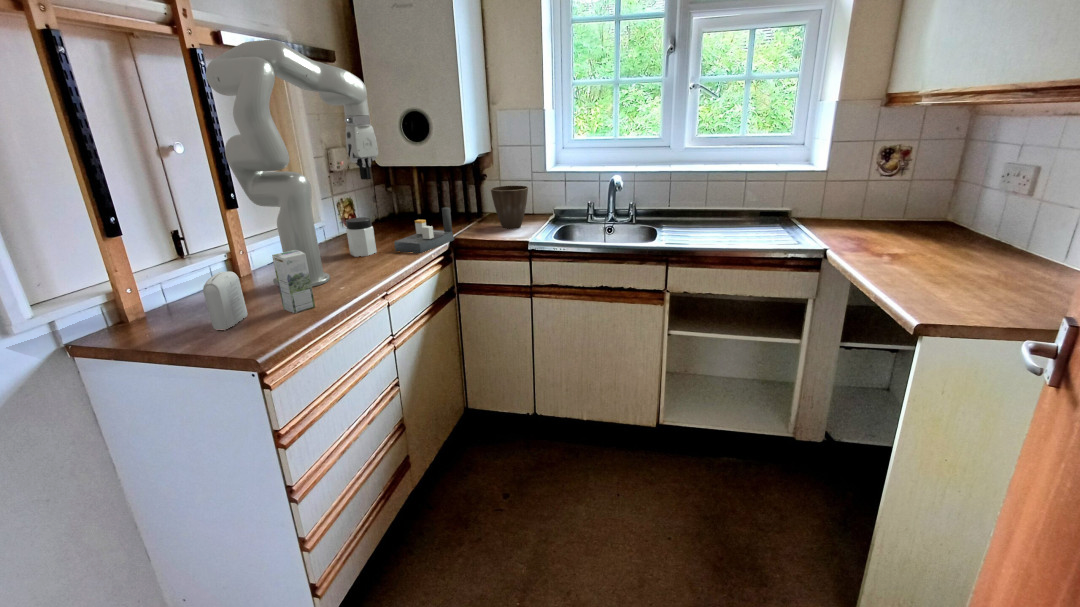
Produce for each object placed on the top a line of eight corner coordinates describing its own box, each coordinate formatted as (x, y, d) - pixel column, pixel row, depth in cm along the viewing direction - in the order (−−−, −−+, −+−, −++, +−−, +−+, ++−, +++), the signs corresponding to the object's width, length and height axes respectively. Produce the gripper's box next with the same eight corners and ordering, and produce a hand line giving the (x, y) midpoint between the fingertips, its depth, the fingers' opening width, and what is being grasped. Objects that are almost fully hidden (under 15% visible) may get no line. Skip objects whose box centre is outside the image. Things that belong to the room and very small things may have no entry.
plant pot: (490, 225, 218) (487, 186, 213) (525, 222, 222) (523, 184, 216) (497, 232, 205) (494, 191, 199) (533, 229, 208) (532, 188, 203)
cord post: (450, 241, 194) (447, 209, 190) (441, 240, 196) (438, 208, 192) (456, 239, 198) (453, 207, 193) (447, 238, 199) (444, 206, 195)
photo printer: (233, 315, 129) (220, 267, 125) (250, 314, 129) (238, 266, 125) (210, 332, 120) (196, 281, 115) (230, 331, 120) (216, 280, 115)
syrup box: (304, 303, 136) (293, 248, 131) (316, 307, 132) (305, 252, 127) (283, 309, 132) (270, 254, 127) (294, 314, 128) (282, 257, 123)
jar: (348, 257, 178) (342, 222, 174) (352, 251, 185) (347, 218, 181) (375, 255, 179) (369, 221, 175) (378, 250, 186) (373, 216, 182)
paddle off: (429, 239, 183) (428, 227, 181) (422, 238, 184) (421, 227, 182) (433, 237, 185) (432, 226, 183) (426, 236, 186) (425, 225, 184)
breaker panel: (421, 253, 179) (420, 243, 178) (395, 251, 183) (394, 241, 182) (454, 240, 196) (453, 231, 194) (429, 238, 200) (428, 229, 199)
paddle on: (423, 234, 190) (421, 221, 188) (416, 233, 191) (414, 220, 190) (427, 232, 192) (425, 219, 190) (420, 232, 193) (418, 219, 192)
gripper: (349, 122, 163) (357, 181, 169) (382, 121, 176) (389, 176, 182) (331, 122, 166) (341, 181, 173) (366, 121, 179) (373, 176, 185)
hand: (366, 179), depth 177 cm, fingers closed
